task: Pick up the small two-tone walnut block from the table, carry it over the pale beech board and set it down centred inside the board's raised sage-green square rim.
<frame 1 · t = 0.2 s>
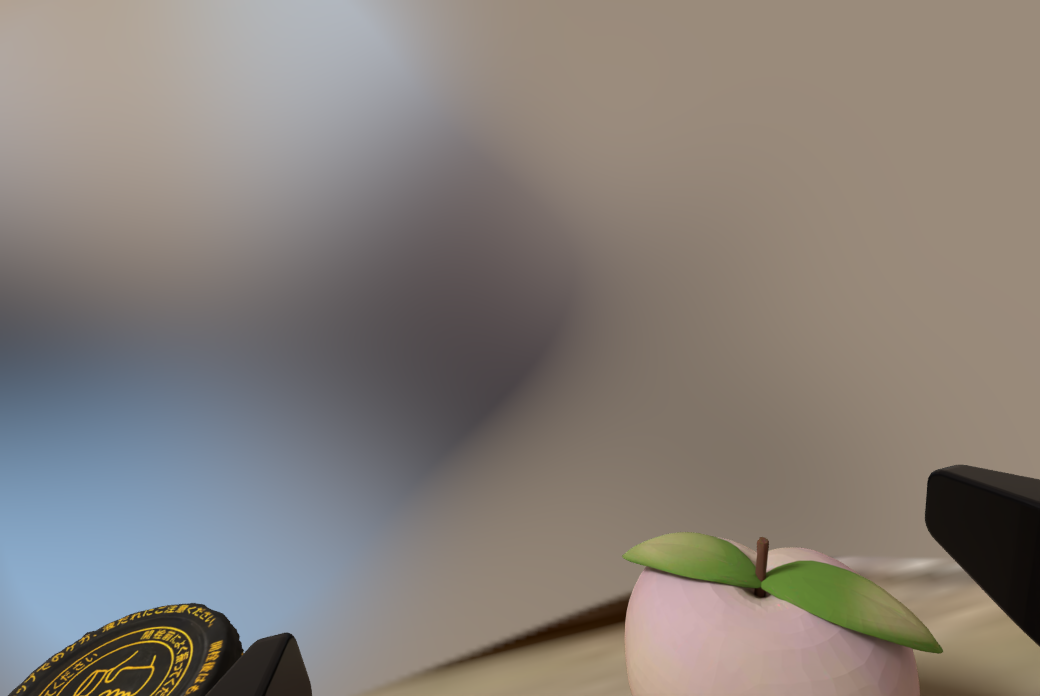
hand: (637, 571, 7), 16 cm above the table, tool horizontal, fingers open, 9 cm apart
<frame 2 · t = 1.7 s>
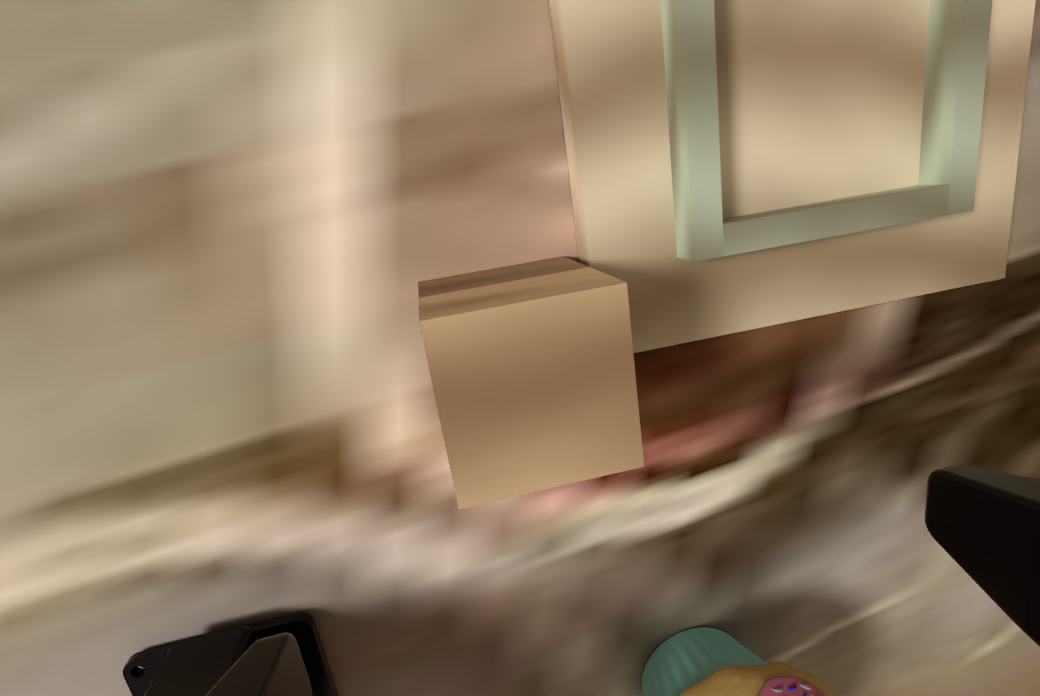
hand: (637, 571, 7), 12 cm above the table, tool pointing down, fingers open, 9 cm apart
board: (790, 81, 19), on the table
cupcake: (689, 668, 25), on the table
block: (503, 339, 19), on the table
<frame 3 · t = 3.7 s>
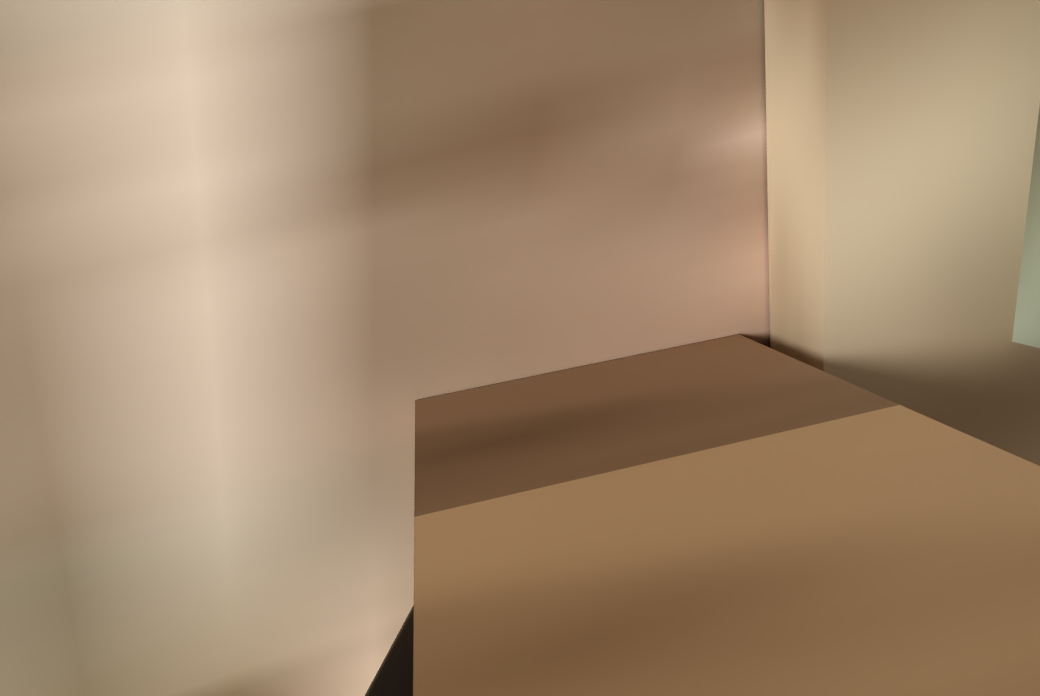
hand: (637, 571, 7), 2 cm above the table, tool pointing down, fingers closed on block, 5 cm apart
block: (601, 510, 9), on the table, touching gripper
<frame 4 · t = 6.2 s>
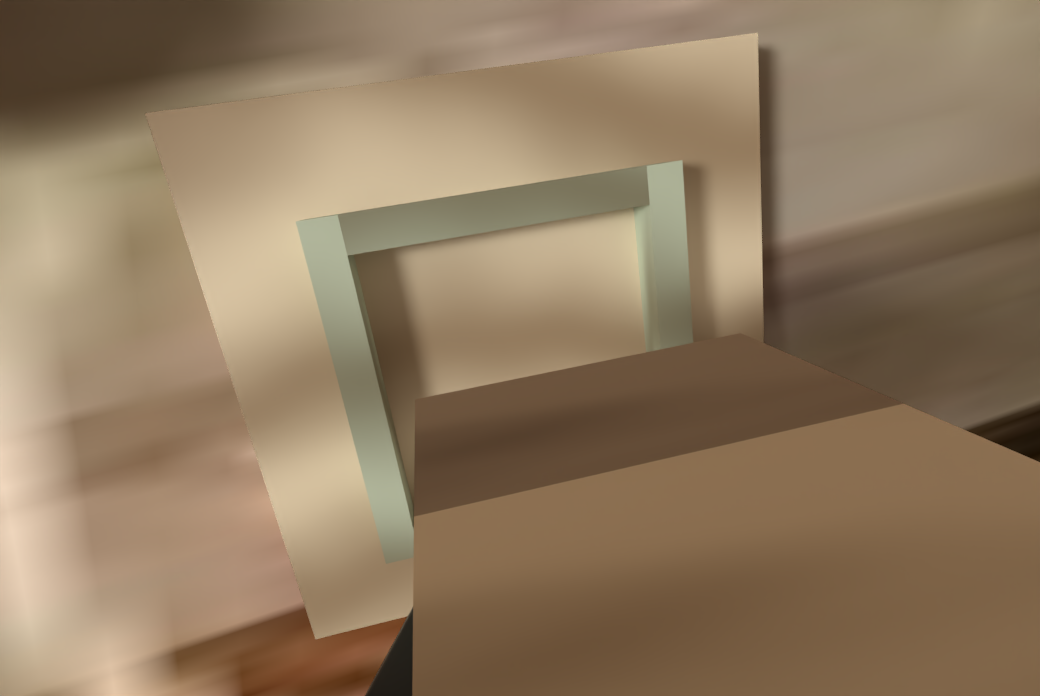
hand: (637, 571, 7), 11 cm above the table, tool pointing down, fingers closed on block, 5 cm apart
board: (512, 349, 18), on the table
block: (601, 510, 9), point 9 cm above the table, touching gripper
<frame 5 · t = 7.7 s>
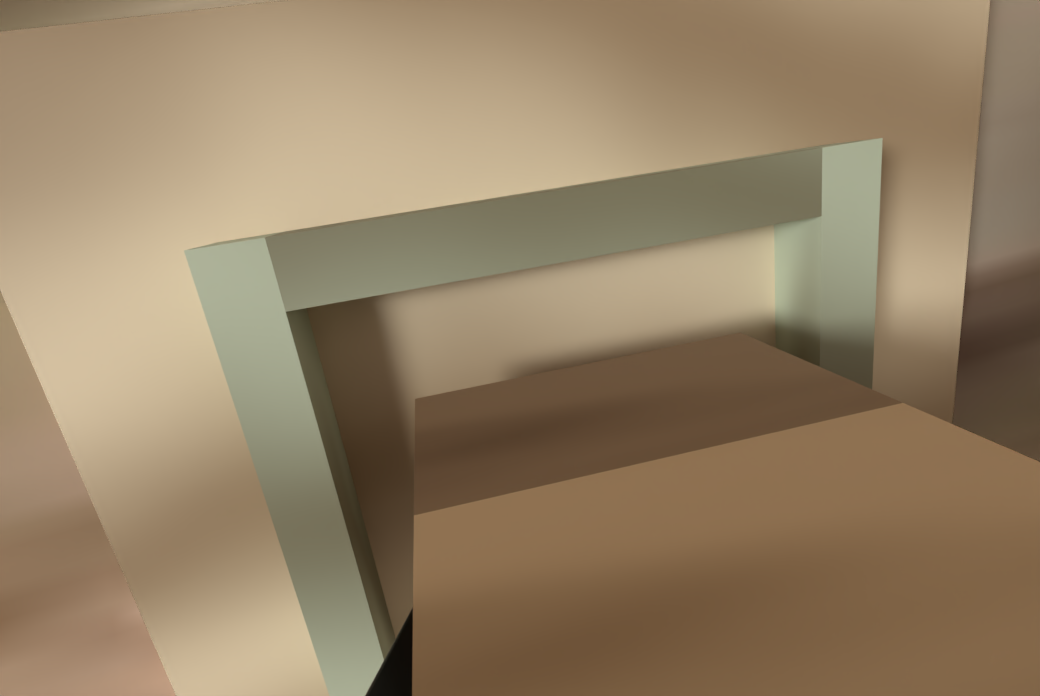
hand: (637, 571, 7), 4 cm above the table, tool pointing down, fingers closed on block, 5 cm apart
board: (563, 439, 11), on the table
block: (601, 510, 9), point 3 cm above the table, touching gripper
when the fingers open (4 cm above the table, at t = 8.1 s): block drops 1 cm, resting on board.
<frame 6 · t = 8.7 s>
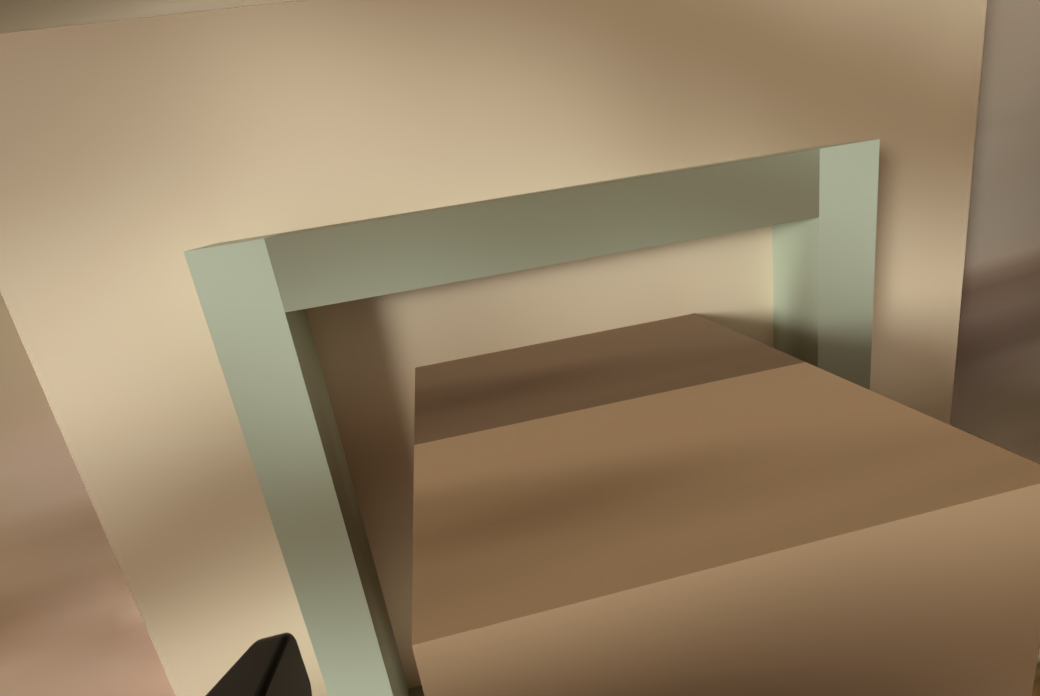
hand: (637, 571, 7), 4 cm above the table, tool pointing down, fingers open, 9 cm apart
board: (562, 439, 11), on the table
block: (576, 467, 10), point 1 cm above the table, touching board
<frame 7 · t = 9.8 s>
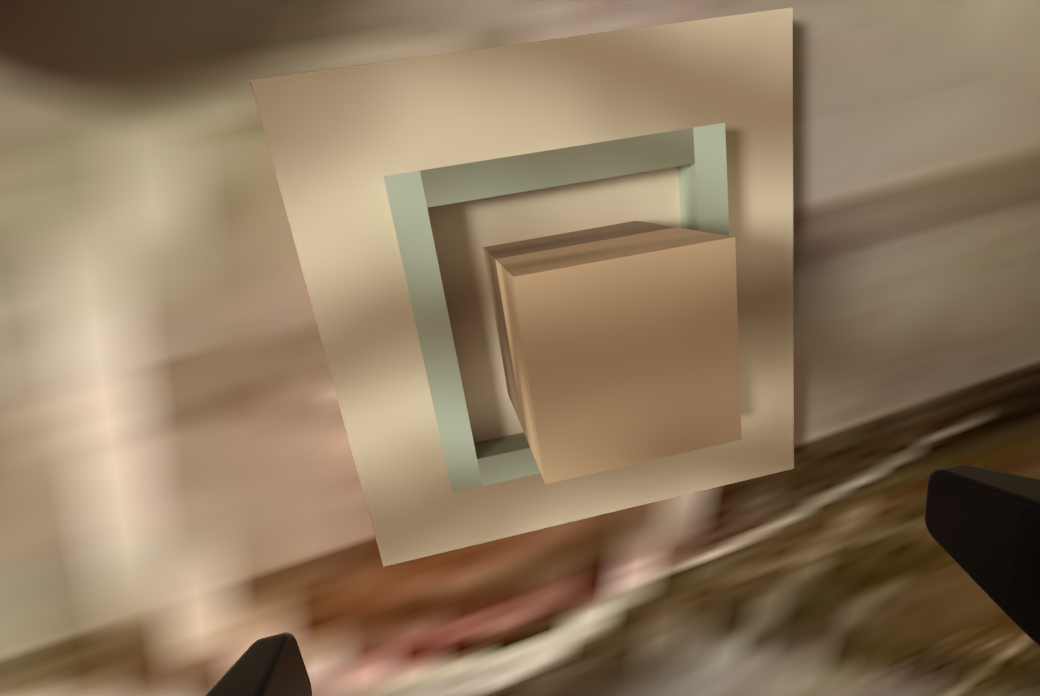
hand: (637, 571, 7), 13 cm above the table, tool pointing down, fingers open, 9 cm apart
board: (562, 302, 19), on the table
block: (570, 309, 18), point 1 cm above the table, touching board
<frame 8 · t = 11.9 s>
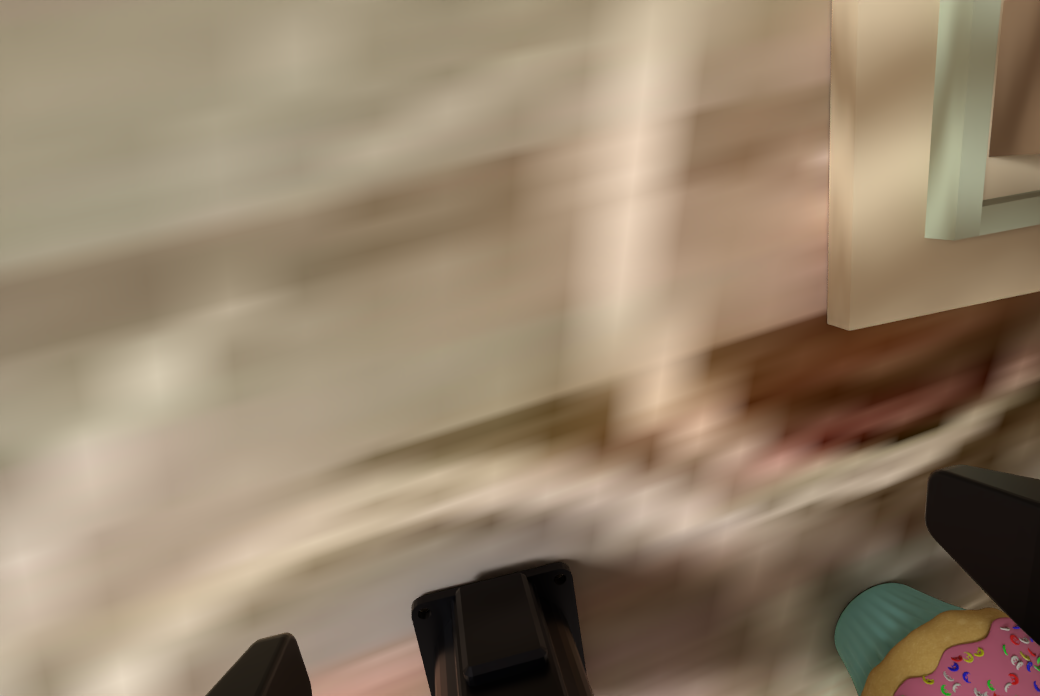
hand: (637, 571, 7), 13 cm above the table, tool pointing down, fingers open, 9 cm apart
board: (1022, 79, 21), on the table
cupcake: (874, 622, 27), on the table
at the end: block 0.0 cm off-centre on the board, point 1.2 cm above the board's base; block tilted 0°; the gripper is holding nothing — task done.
